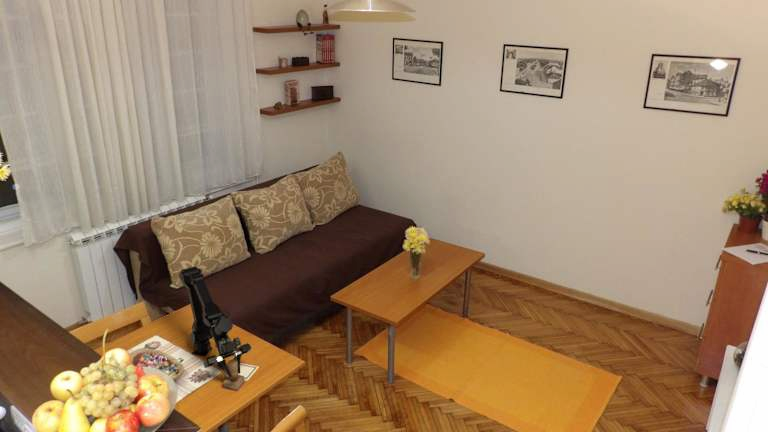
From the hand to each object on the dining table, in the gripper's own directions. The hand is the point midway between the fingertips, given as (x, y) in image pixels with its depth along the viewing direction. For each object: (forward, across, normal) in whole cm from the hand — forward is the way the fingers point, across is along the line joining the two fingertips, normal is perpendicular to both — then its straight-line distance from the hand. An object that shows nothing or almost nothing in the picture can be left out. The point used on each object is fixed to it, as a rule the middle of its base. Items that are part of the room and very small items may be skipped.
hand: (235, 375), depth 224 cm
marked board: (-1, +7, +10) cm, 12 cm away
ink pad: (+3, 0, +6) cm, 7 cm away
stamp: (+3, 0, +5) cm, 6 cm away
